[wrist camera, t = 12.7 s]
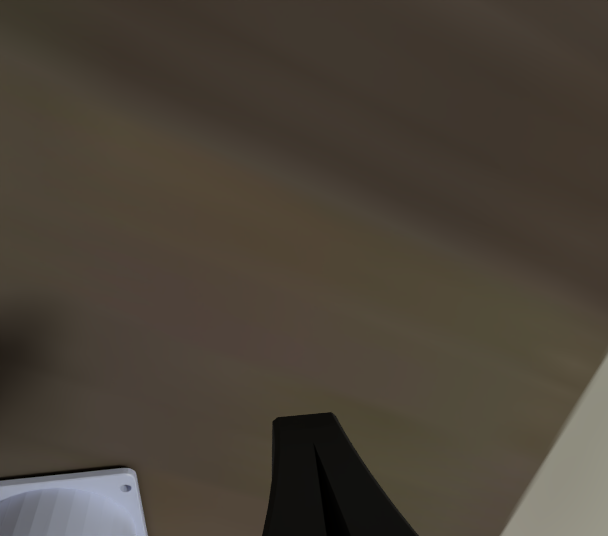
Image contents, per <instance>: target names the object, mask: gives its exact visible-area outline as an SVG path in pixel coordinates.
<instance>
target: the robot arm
mask: <svg viewBox="0 0 608 536" xmlns="http://www.w3.org/2000/svg"><path fill="white" fill-rule="evenodd" d="M0 536H148V535H147V529H146V524H145V518H144V513H143V508H142V502H141V497H140V491H139V486H138V480H137V475H136V472H135V471H134V470H132V469H130V468H117V469H108V470H98V471H89V472H79V473H70V474H60V475H51V476H41V477H32V478H22V479H13V480H3V481H0ZM262 536H419V535H418V534H417V533H416V532H415V531H414V529H413V528H412V527H411V526H410V524H409V523H408V522H407V521H406V519H405V518H404V517H403V516H402V514H401V513H400V512H399V511H398V509H397V508H396V507H395V505H394V504H393V503H392V502H391V500H390V499H389V498H388V496H387V495H386V493H385V492H384V491H383V489H382V488H381V486H380V485H379V484H378V482H377V481H376V480H375V478H374V477H373V475H372V474H371V473H370V471H369V470H368V468H367V467H366V465H365V464H364V462H363V461H362V459H361V458H360V456H359V455H358V453H357V451H356V450H355V448H354V447H353V445H352V443H351V442H350V440H349V439H348V437H347V435H346V434H345V432H344V430H343V428H342V427H341V425H340V423H339V421H338V419H337V417H336V416H335V415H334V414H333V413H332V412H329V413H318V414H308V415H297V416H287V417H278V418H276V419H275V420H274V421H273V429H272V484H271V491H270V498H269V504H268V510H267V515H266V520H265V525H264V529H263V534H262Z"/></svg>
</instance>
